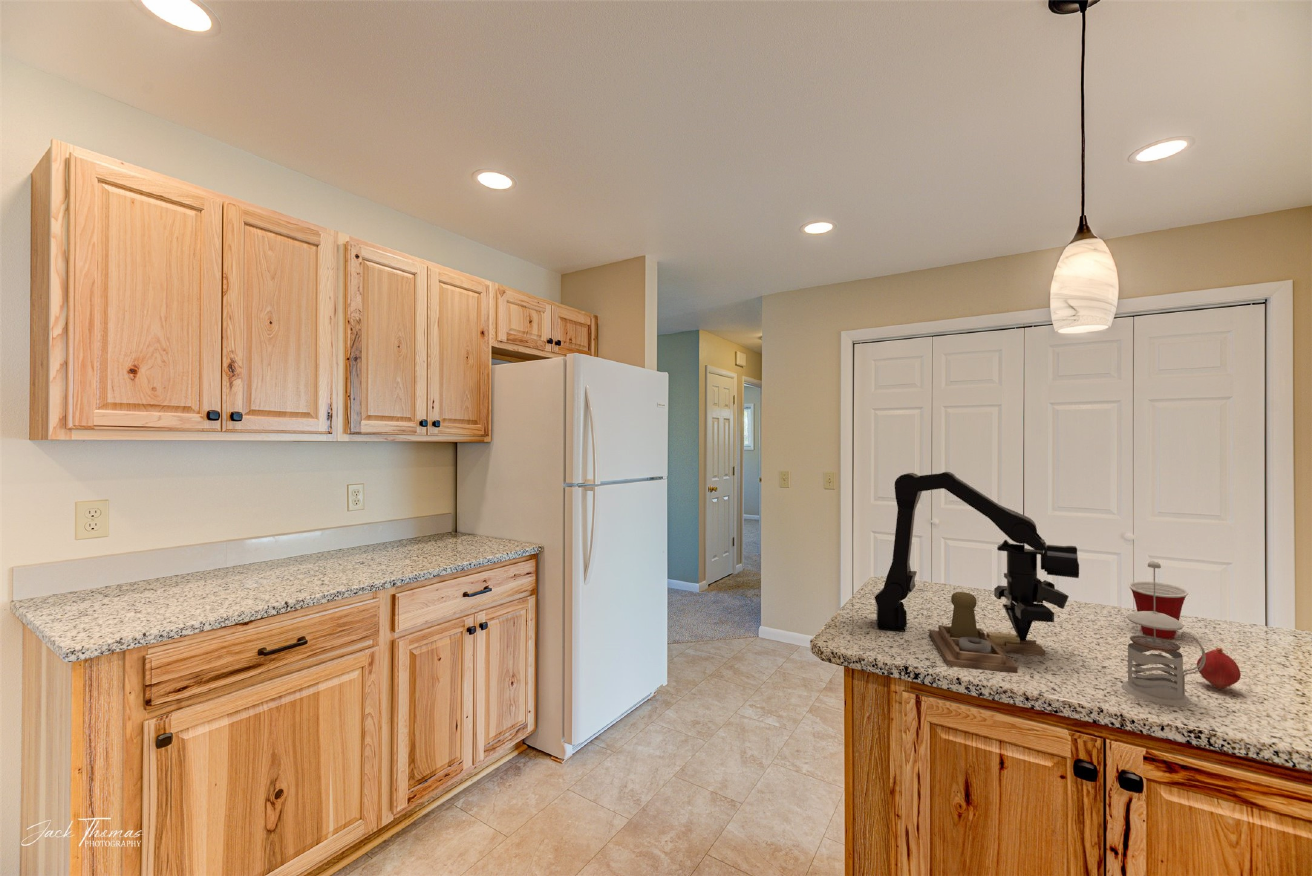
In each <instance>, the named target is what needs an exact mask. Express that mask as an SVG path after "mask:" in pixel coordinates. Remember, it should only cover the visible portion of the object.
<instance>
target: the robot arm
mask: <svg viewBox="0 0 1312 876" xmlns="http://www.w3.org/2000/svg"><path fill="white" fill-rule="evenodd" d="M941 489H942V490H943V489H944V490H945V491H947V492H948V493H950V494H951V495H953V496H955V497H956V498H957V499H960V501H962V502H963V503H965V504H967V505H968V506H969V507H971V508H973V509H975V510H976V511H977V512H979V514H982V515H983V516H985V517H986V518H988V519H989V520H990V521H991V522H992V523H993V524H994V525H995V526H996V527H997V528H998V529H999V530H1000V531H1001V532H1002V533H1003V534H1004V535H1005V536H1006V537H1008V538H1009V540H1011V541H1012V542H1014V543H1012V542H1009V541H1008V539H1004V540H1003V542H1001V543H1000V544H998V545H997V551H1000V552H1006V572H1004V573H1003V578H1005V579H1006V585H1000V584H998V585H997V586H995V588H994V589H993V592H994V593H993V594H994V595H993V597H995V598H996V599H997V600H1001V599H1002V598H1004V599H1005V600H1006V602H1005V603H1006V604H1005V603H1003V604H1002V607H1003V609H1004V611H1005V614H1006V615H1007V617H1008V620H1009V621H1010V623H1011V625H1012V627H1013V630H1014V632H1015V634H1016V635H1017V636H1018V637H1019V638H1020V641H1025V640H1027V638H1028V634H1029V633H1030V629H1031V626H1032V624H1033V622H1042V623H1043V622H1045V623H1054V622H1055V612H1054V611H1052V609H1050V608H1049V606H1046V605H1045V604H1044V602H1046V603H1048V604H1051V605H1054V606H1056V607H1057V608H1059V609H1062V610H1064V608H1065V607H1066V604H1067V602H1068V599H1069V597H1070V596H1069V595H1068V594H1067V593H1065V592H1063V591H1061V590H1060V589H1058V588H1057V589H1056V588H1055V587H1056V586H1055V584H1054V583H1052V582H1051V581H1048V580H1045V579H1044V580H1043V581H1042V580H1041V579H1040V578H1039V577H1038V555H1040V570H1042V571H1043V572H1044V573H1046V575H1047V576H1055V577H1056V576H1057V577H1062V578H1063V577H1064V578H1075V579H1079V578H1080V564H1079V560H1078V559H1079V557H1078V556H1079V555H1078V547H1077V546H1076V545H1058V544H1057V545H1055V544H1047V542H1046V541H1045V539H1043V538H1042V537H1041V535H1040V534H1039V533H1038V530H1037V529H1038V528H1037V524H1036V523H1035V521H1034V520H1033V519H1032V518H1031V517H1029V516H1026V515H1024V514H1022V513H1020V512H1018V511H1015V510H1012V509H1010V508H1008V507H1005V506H1003V505H1001V504H999V503H997V502H996V501H994V500H993V499H991V498H989V496H987V495H985V494H983V493H982V492H980V491H979V490H977V489H976V488H974V487H973V486H971V485H969V484H968V483H966V482H965V481H963V480H961V479H960V478H958V477H957V476H956V475H955V474H954V473H953V472H950V471H943V472H939V473H932V474H924V475H923V474H922V475H918V474H917V473H915V472H907V473H904V474H901V475H899V476H898V477H897V478H896V479H895V481H894V495H895V501H896V507H897V513H896V521H895V522H896V524H895V533H894V542H893V551H892V561H891V565H890V567H889V569H888V573H887V574H886V575H887V576H886V577H885V581H884V584H883V588H881V590H879V592H878V593H877V594H876V595H875V596H874V600H875V604H876V606H875V607H876V611H875V612H876V619H874V620H875V623H876V627H877V629H878V630H886V631H898V632H906V628H907V625H908V623H907V621H908V619H907V617H908V616H907V615H908V614H907V610H906V608H905V604H904V602H903V600H905V599H907V597H908V596H909V595H910V593H912V592H913V591H914V589H915V588H916V583H915V582H916V576H917V570H912V569H911V562H910V561H911V553H912V545H913V543H912V541H913V534H914V526H915V515H916V509H917V506H918V505H919V501H920V499H921V496H922V492H928V491H934V490H941ZM1026 545H1027V546H1028V547H1030V548H1026Z"/></svg>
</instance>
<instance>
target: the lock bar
mask: <svg viewBox="0 0 1312 876" xmlns="http://www.w3.org/2000/svg"><path fill="white" fill-rule="evenodd" d="M986 635H987V637H989V638H990V639H991V641H992V642H993V643H994V644H998V645H1006V643H1011V644H1020V638H1019V637H1018V636H1017V634H1016V633H1006V632H1005V633H1004V632H994V631H993V632H991V631H986Z"/></svg>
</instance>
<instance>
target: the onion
mask: <svg viewBox="0 0 1312 876" xmlns="http://www.w3.org/2000/svg"><path fill="white" fill-rule="evenodd" d="M1205 654H1206V661H1205V664H1204V667H1203V668H1202V669H1201V670H1200V671H1198V673H1199V674H1200V675H1201V677H1202V678H1203V679H1204V680H1206V681H1207V682H1208V683H1209V684H1210V685H1212V686H1213V687H1214V688H1215V689H1218V690H1224V689H1227V688H1228V687H1231V686H1232V685H1234V684H1235V685H1236V684H1237V683H1238V682H1239V681H1240V680H1241V675H1242V674H1241V670H1240V667H1239V665H1238V664H1237V663H1236V661H1235V660H1234V659H1233V658H1232V657H1231V656H1229V655H1227V654H1226V653H1225V652H1224V651H1223V648H1222V647H1216V648H1215V649H1211V650H1209V651H1205ZM1201 660H1202V655H1201V656H1200V657H1199V658H1198V659H1197V661H1196V667H1197V666H1198V665H1199V663H1200V662H1201ZM1202 664H1203V662H1202ZM1202 664H1201V665H1202ZM1200 667H1201V666H1200ZM1200 667H1199V668H1200ZM1199 668H1197V669H1196V670H1198V669H1199Z"/></svg>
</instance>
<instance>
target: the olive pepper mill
mask: <svg viewBox="0 0 1312 876" xmlns="http://www.w3.org/2000/svg"><path fill="white" fill-rule="evenodd" d="M950 597H951V598H950V601H951V604H952V606H953V611H952V618H951V623H950V626H951V630H950V637H952V638H962V637H975V638H978V633H977V628H978V627H977V621H976V615H975V608H976V606H977V598H976V596H975V595H974V594H972V593H971V592H970V593H969V592H965V591H954V592H953V593H952V595H951V596H950Z"/></svg>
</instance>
